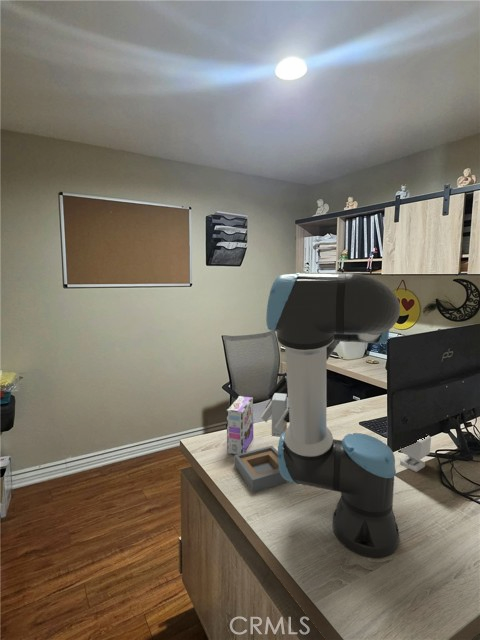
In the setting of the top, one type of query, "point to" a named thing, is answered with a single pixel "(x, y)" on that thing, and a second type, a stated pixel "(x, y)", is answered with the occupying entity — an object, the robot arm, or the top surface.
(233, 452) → the candy box
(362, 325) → the robot arm
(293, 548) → the top surface
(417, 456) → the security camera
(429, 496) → the top surface
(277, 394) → the skincare box
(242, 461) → the bore box
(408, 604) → the top surface
